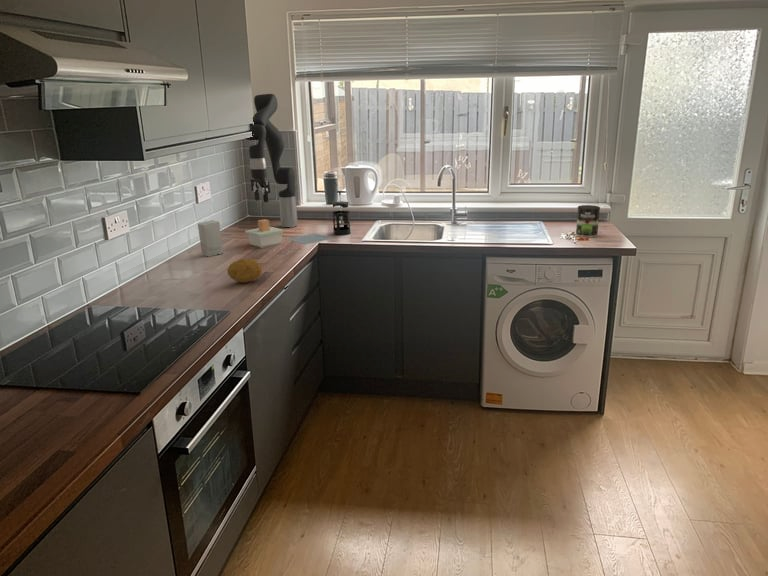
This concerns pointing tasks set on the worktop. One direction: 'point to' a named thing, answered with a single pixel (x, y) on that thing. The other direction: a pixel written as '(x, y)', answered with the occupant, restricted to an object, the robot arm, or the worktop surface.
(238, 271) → the potato
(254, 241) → the dish
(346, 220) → the french press
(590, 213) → the coffee can
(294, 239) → the mat
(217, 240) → the skincare box
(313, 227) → the worktop surface
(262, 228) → the lid
